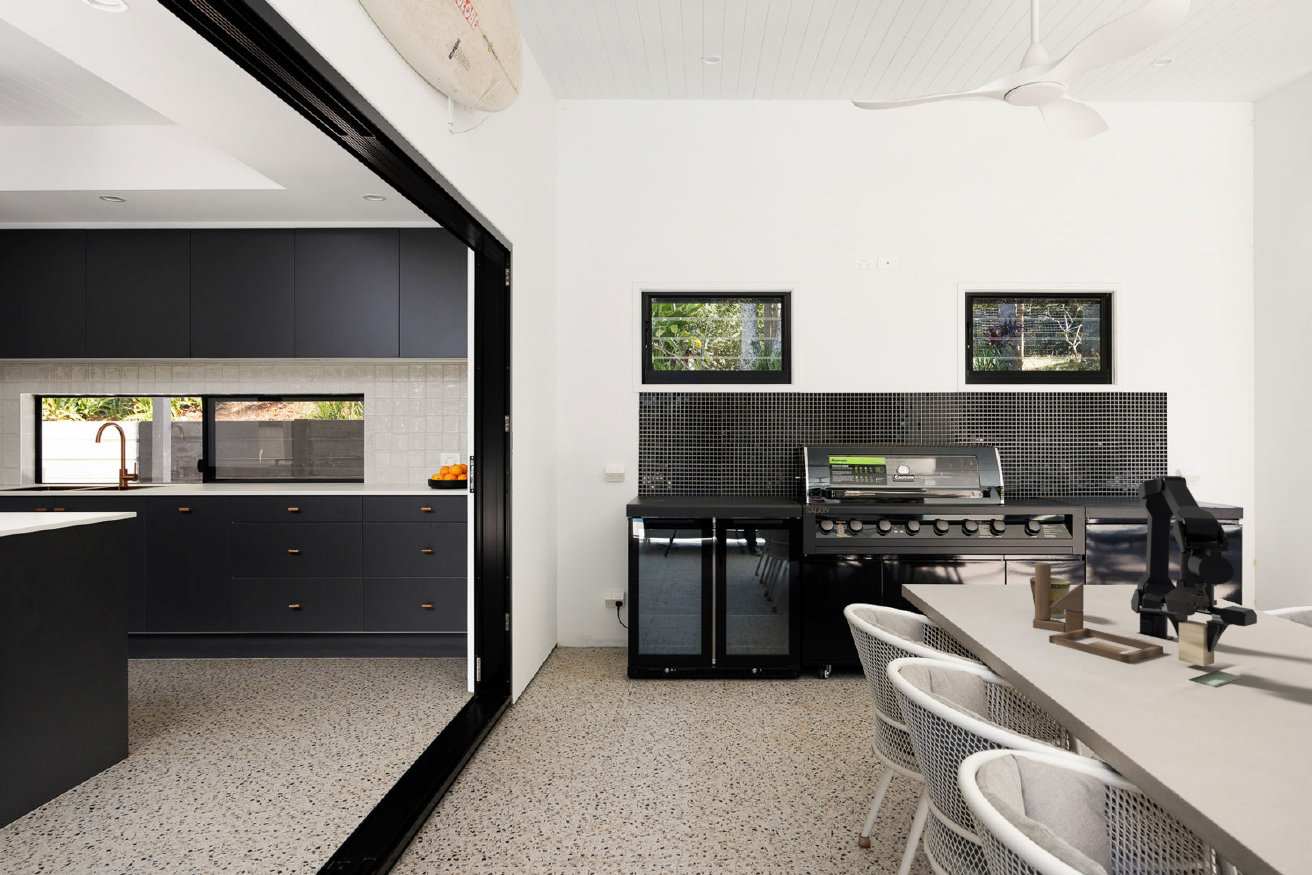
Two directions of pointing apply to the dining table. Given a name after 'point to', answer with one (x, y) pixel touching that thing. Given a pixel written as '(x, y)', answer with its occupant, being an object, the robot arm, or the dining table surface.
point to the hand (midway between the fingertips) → (1196, 648)
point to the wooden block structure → (1056, 603)
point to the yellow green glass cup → (1054, 593)
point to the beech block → (1194, 643)
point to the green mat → (1215, 678)
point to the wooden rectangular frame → (1106, 645)
